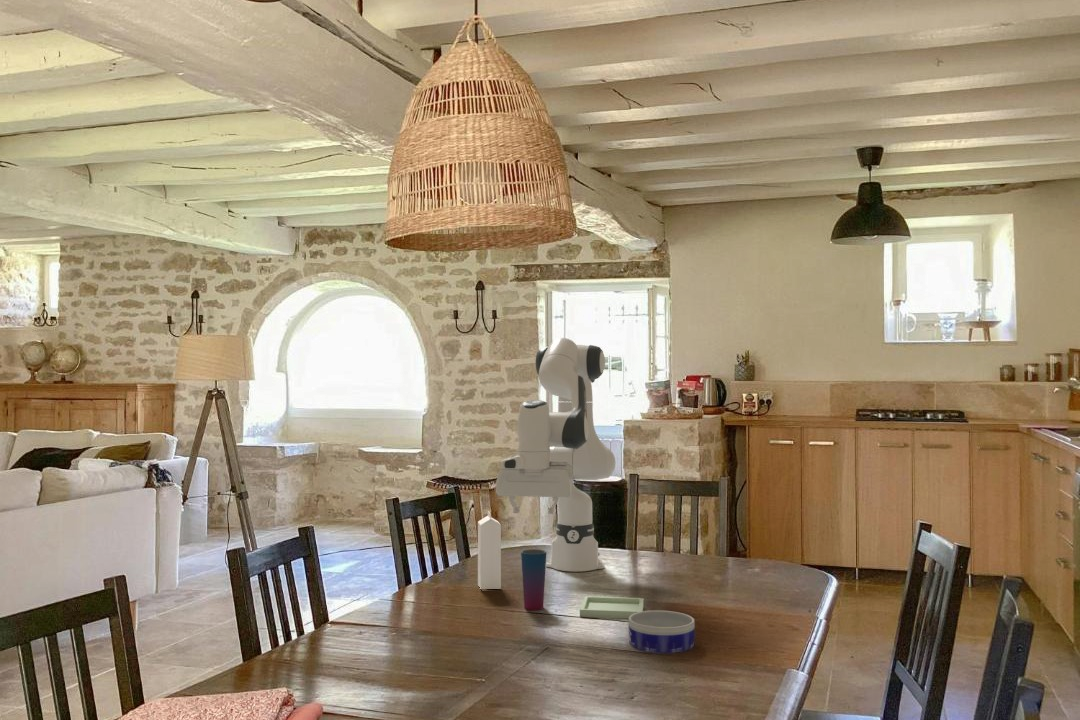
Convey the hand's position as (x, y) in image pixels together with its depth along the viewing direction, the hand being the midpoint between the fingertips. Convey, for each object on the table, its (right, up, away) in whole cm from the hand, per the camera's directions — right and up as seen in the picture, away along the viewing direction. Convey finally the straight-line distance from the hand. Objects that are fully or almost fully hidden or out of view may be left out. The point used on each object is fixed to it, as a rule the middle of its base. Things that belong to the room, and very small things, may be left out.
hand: (533, 513), depth 246 cm
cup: (0, -25, 0) cm, 25 cm away
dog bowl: (+30, -25, -32) cm, 50 cm away
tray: (+21, -25, -3) cm, 33 cm away
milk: (-13, -26, +22) cm, 36 cm away
